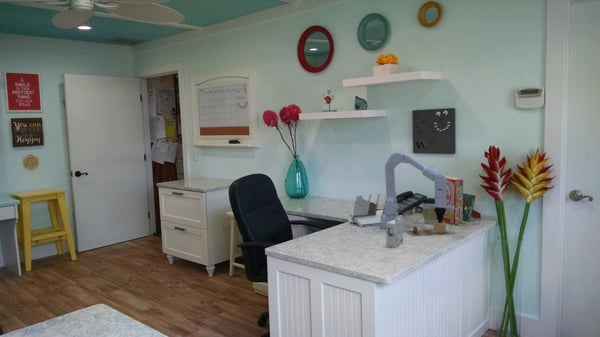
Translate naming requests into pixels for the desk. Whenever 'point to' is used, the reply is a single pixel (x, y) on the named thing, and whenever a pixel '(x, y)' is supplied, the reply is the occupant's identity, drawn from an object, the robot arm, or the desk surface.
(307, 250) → the desk surface
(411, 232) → the hub board
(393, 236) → the ink box
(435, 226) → the collar
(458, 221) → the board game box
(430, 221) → the coffee cup
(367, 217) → the architectural model
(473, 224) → the desk surface
